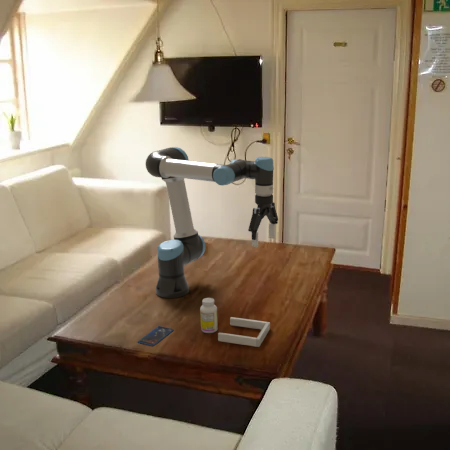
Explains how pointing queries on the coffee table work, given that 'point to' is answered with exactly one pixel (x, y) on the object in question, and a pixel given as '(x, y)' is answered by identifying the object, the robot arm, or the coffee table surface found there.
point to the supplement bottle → (208, 316)
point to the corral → (245, 339)
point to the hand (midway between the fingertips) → (263, 242)
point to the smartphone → (155, 336)
